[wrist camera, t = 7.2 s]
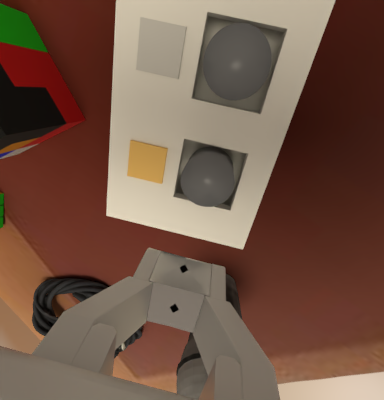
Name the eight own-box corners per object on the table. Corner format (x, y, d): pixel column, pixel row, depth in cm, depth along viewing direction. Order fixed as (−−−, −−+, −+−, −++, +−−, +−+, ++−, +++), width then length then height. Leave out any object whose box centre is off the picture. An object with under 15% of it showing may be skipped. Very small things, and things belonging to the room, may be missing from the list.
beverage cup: (182, 285, 33) (127, 521, 15) (215, 254, 30) (197, 502, 12) (222, 312, 34) (217, 562, 16) (258, 284, 31) (302, 554, 13)
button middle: (272, 42, 17) (282, 30, 14) (253, 104, 19) (258, 106, 16) (214, 29, 17) (211, 15, 14) (201, 92, 19) (196, 92, 16)
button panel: (380, -183, 14) (456, -320, 10) (240, 223, 27) (243, 251, 23) (160, -221, 15) (129, -369, 10) (125, 195, 28) (105, 216, 23)
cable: (29, 292, 38) (6, 315, 34) (76, 251, 33) (56, 272, 29) (107, 351, 42) (94, 378, 38) (160, 322, 37) (152, 350, 33)
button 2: (239, 152, 21) (241, 163, 18) (226, 195, 23) (226, 212, 20) (192, 141, 21) (185, 150, 18) (183, 185, 23) (176, 200, 20)
